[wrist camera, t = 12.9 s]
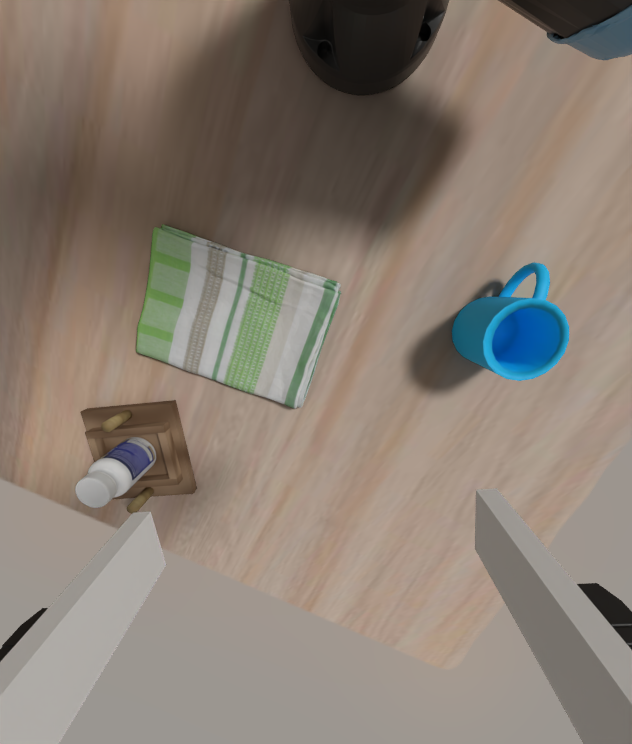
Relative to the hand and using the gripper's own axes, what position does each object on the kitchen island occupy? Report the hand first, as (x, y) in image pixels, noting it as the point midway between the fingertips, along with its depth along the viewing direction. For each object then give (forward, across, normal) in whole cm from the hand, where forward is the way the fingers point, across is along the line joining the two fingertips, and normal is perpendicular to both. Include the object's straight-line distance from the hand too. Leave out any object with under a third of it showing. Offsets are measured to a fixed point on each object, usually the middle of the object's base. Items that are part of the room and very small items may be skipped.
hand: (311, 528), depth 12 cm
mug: (+29, +21, +4) cm, 36 cm away
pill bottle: (+28, -27, -10) cm, 40 cm away
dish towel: (+29, -11, +7) cm, 32 cm away
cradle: (+29, -28, -10) cm, 41 cm away
